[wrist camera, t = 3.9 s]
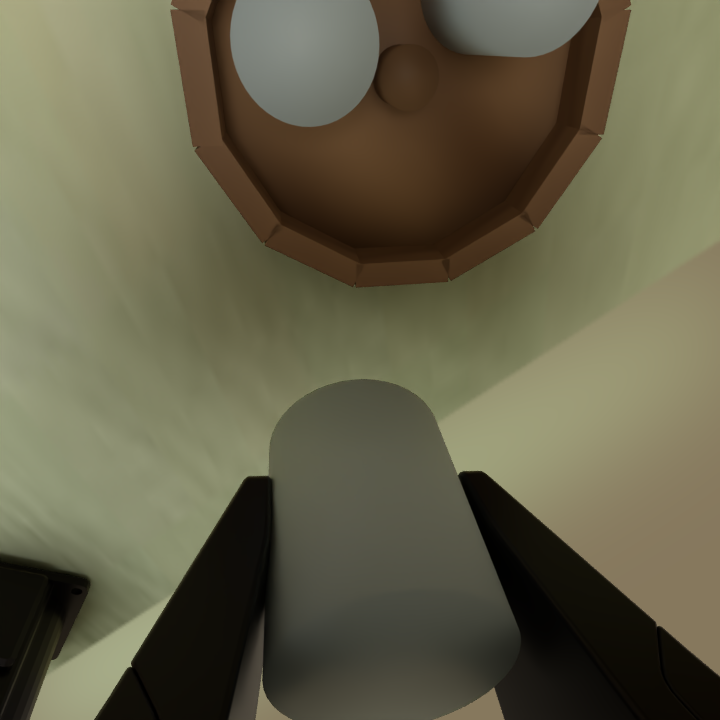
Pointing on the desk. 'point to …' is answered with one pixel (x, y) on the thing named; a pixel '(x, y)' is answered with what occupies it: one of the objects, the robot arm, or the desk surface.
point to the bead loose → (376, 565)
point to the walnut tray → (403, 145)
